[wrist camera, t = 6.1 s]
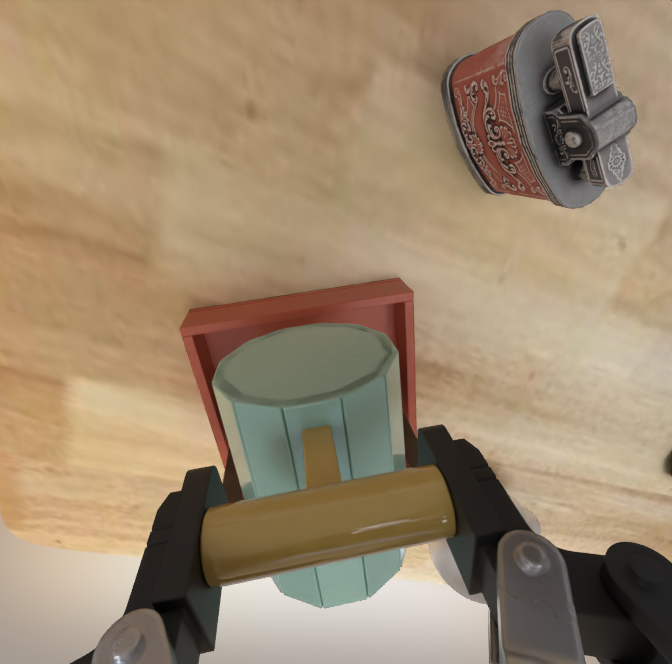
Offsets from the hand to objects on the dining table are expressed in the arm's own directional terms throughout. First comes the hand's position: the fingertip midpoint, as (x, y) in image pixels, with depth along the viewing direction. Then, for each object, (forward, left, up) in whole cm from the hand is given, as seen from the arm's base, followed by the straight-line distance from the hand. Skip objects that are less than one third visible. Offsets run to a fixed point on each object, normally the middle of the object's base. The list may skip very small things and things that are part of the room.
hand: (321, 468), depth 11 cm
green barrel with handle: (-1, 0, -3) cm, 3 cm away
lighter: (-9, +12, -16) cm, 22 cm away
